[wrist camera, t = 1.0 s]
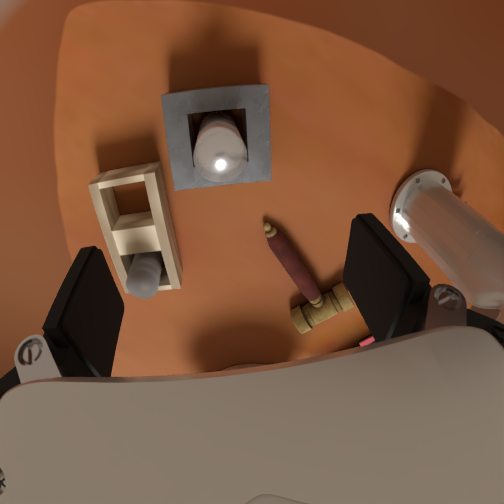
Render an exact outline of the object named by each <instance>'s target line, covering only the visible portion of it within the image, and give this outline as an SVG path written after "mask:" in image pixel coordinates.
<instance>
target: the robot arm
mask: <svg viewBox="0 0 504 504" xmlns="http://www.w3.org/2000/svg"><path fill="white" fill-rule="evenodd" d="M390 223H391V226H392V229H393V231H394V232H395V234H396V235H397V236H398V237H399V238H400V239H402V240H403V241H406V242H410V243H415V242H417V243H418V244H419V245H420V246H421V247H422V249H423V250H424V251H425V252H426V253H427V254H428V255H429V256H430V257H431V259H432V260H433V261H434V262H435V263H436V264H437V265H438V267H439V268H440V269H441V270H442V271H443V272H444V274H445V275H446V276H447V277H448V278H449V280H450V281H451V282H452V283H453V284H454V286H455V287H456V288H457V289H456V288H455V287H453V286H451V285H448V284H437V285H434V286H433V287H431V286H430V284H429V282H430V278H429V277H428V276H427V275H426V274H425V272H424V271H423V270H422V269H421V267H420V266H419V265H418V264H417V263H416V261H415V260H414V259H413V258H412V257H411V256H410V254H409V253H408V252H407V251H406V250H405V249H404V247H403V246H402V245H401V244H400V243H399V242H398V241H397V240H396V238H395V237H394V236H393V235H392V234H391V233H390V232H389V231H388V230H387V229H386V227H385V226H384V225H383V224H382V223H381V222H380V221H379V220H378V219H377V218H376V217H375V216H374V215H373V214H372V213H367V214H358V215H357V216H356V218H354V219H353V220H352V223H351V230H350V237H349V243H348V249H347V255H346V261H345V267H344V272H343V279H344V283H345V285H346V287H347V288H348V290H349V292H350V294H351V296H352V298H353V299H354V301H355V303H356V305H357V307H358V309H359V311H360V313H361V315H362V316H363V318H364V320H365V322H366V324H367V326H368V328H369V330H370V332H371V334H372V336H373V338H374V340H375V342H376V343H373V344H369V345H365V346H361V347H357V348H353V349H348V350H344V351H340V352H335V353H330V354H326V355H321V356H316V357H311V358H305V359H300V360H294V361H289V362H283V363H277V364H271V365H264V366H257V367H250V368H242V369H234V370H226V371H217V372H206V373H195V374H182V375H167V376H144V377H111V372H112V366H113V361H114V356H115V350H116V345H117V341H118V336H119V331H120V327H121V322H122V318H123V314H124V302H123V300H122V298H121V295H120V293H119V291H118V289H117V286H116V284H115V282H114V279H113V277H112V275H111V272H110V270H109V267H108V265H107V262H106V260H105V257H104V255H103V252H102V250H101V249H98V248H97V247H96V246H90V247H84V248H81V249H80V251H79V253H78V254H77V256H76V258H75V260H74V262H73V264H72V266H71V267H70V269H69V272H68V273H67V275H66V277H65V279H64V281H63V283H62V285H61V287H60V289H59V291H58V294H57V296H56V298H55V300H54V302H53V304H52V307H51V309H50V311H49V313H48V316H47V318H46V320H45V323H44V325H43V327H42V329H43V330H44V335H43V337H42V336H40V335H32V336H29V337H27V338H26V339H24V340H23V341H22V342H21V343H20V345H19V346H18V347H17V350H16V352H15V357H14V359H15V365H16V366H15V367H14V368H13V369H12V370H11V371H9V372H8V373H7V374H6V375H4V377H2V378H1V379H0V504H504V234H503V233H502V232H501V231H500V230H499V229H497V228H496V227H495V226H494V225H493V224H492V223H490V222H489V221H488V220H487V219H486V218H484V217H483V216H482V215H481V214H480V213H478V212H477V211H476V210H475V209H473V208H472V207H471V206H469V205H468V203H467V202H466V201H463V200H462V199H460V198H459V197H458V196H456V195H455V194H454V193H452V188H451V185H450V182H449V181H448V179H447V178H446V177H445V176H444V175H443V174H442V173H440V172H438V171H436V170H433V169H424V170H420V171H418V172H415V173H414V174H412V175H411V176H409V177H408V178H407V179H406V180H405V181H404V182H403V183H402V185H401V186H400V187H399V189H398V190H397V192H396V194H395V196H394V198H393V201H392V204H391V208H390ZM466 300H467V301H468V302H469V303H470V304H472V305H474V306H476V307H480V308H499V309H500V314H499V316H498V317H497V319H496V320H494V319H491V318H489V317H487V316H484V315H481V314H479V313H477V312H474V311H472V310H470V309H467V303H466Z"/></svg>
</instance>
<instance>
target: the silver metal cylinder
mask: <svg viewBox="0 0 504 504" xmlns="http://www.w3.org/2000/svg"><path fill="white" fill-rule="evenodd" d="M193 160H194V165H195V168H196V169H197V171H198V172H199V174H200V175H201V176H203V177H204V178H205V179H207V180H209V181H213V182H227V181H230V180H232V179H234V178H236V177H237V176H238V175H239V174H241V172H242V171H243V170H244V168H245V166H246V163H247V150H246V147H245V145H244V142H243V140H242V138H241V136H240V133H239V131H238V129H237V127H236V124H235V122H234V120H233V119H232V117H231V116H229V115H228V114H226V113H224V112H213V113H210V114H208V115H207V116H206V117H205V118H204V119H203V120H202V122H201V125H200V129H199V133H198V137H197V141H196V146H195V150H194V155H193Z"/></svg>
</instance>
